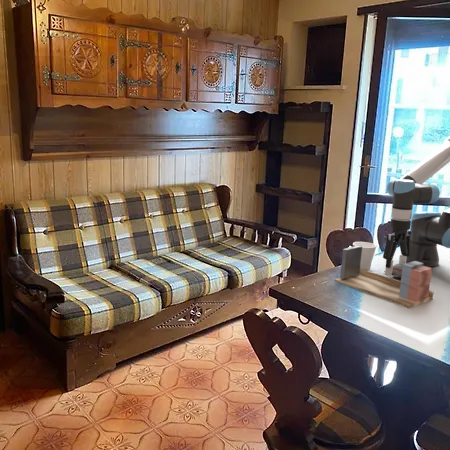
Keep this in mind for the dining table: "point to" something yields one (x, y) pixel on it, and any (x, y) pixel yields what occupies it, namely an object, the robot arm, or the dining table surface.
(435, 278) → the dining table surface
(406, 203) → the robot arm
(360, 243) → the cup
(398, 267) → the packaged food
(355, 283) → the wooden book rack
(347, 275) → the bookend
